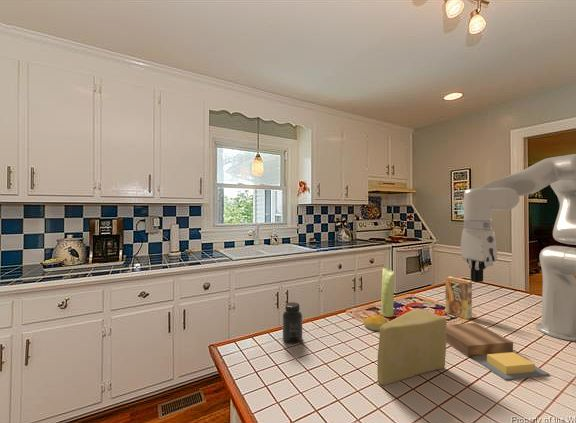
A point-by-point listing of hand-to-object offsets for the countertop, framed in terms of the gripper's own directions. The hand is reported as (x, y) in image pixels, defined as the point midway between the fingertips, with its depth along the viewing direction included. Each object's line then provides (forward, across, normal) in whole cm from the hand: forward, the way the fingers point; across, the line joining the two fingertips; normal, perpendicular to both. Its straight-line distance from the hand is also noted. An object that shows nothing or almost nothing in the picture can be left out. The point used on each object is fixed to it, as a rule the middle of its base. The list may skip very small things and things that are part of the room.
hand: (476, 280), depth 89 cm
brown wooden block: (+21, 0, +1) cm, 21 cm away
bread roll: (+21, +18, +27) cm, 39 cm away
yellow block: (+19, -13, +2) cm, 23 cm away
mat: (+21, -12, +1) cm, 24 cm away
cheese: (+21, -10, +32) cm, 40 cm away
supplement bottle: (+21, +13, +60) cm, 65 cm away
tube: (+21, +27, +17) cm, 38 cm away
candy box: (+22, +22, -13) cm, 34 cm away
